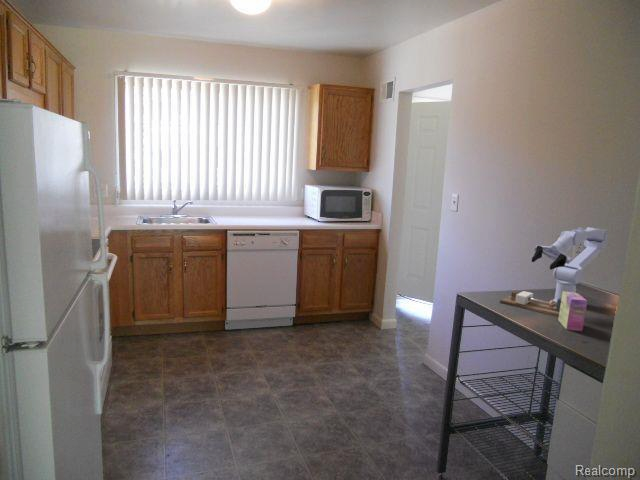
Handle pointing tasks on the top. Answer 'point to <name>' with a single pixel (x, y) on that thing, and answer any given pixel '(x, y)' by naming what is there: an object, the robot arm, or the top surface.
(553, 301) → the stop band
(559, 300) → the end block
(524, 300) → the sleeve
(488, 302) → the top surface
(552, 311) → the guide board
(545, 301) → the guide rod
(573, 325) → the box
